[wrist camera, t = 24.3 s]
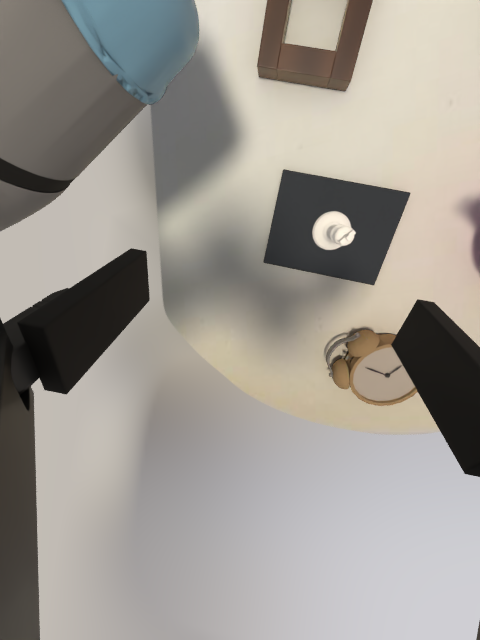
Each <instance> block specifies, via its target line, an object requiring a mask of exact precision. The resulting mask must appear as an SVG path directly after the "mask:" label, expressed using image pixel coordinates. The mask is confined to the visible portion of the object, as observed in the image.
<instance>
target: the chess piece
mask: <svg viewBox="0 0 480 640" xmlns="http://www.w3.org/2000/svg"><path fill="white" fill-rule="evenodd" d="M355 234H356V232H355V231H354V230H353V229H352V228H351V224H350V221H349V219H348V218H347V217H346V216H345V215H344V214H342V213H340V212H337V211H331V212H327V213H325V214H323V215H321V216H320V217H319V218H318V219H317V220H316V222H315V224H314V226H313V230H312V235H313V239H314V241H315V243H316V244H317V245H318V246H319V247H320V248H322V249H325V250H334V249H337V248H339V247H341V246H346V245H348V244H350V243H351V242H352V241H353V239H354V235H355Z"/></svg>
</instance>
